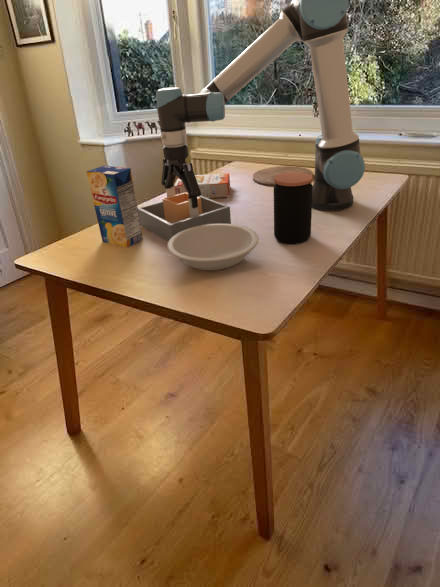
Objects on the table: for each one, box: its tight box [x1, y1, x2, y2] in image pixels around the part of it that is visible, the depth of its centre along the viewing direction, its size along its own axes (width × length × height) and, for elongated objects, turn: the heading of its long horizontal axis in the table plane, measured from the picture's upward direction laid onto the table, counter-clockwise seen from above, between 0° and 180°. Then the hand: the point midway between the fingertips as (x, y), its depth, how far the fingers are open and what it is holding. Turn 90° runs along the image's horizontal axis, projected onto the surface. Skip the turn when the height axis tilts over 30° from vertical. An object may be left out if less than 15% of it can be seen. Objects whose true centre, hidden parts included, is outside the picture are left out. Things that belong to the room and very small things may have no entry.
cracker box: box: [173, 172, 231, 199], centre depth 169 cm, size 14×6×21 cm
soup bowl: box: [167, 223, 259, 271], centre depth 115 cm, size 24×24×7 cm
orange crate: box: [161, 192, 202, 224], centre depth 140 cm, size 9×9×8 cm
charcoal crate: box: [137, 196, 232, 243], centre depth 141 cm, size 22×22×6 cm
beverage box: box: [86, 165, 144, 249], centre depth 129 cm, size 7×11×22 cm, turn 57°
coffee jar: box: [273, 172, 314, 245], centre depth 123 cm, size 11×11×18 cm
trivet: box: [252, 165, 314, 187], centre depth 181 cm, size 25×25×2 cm
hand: (183, 212), depth 140 cm, fingers open, 13 cm apart
